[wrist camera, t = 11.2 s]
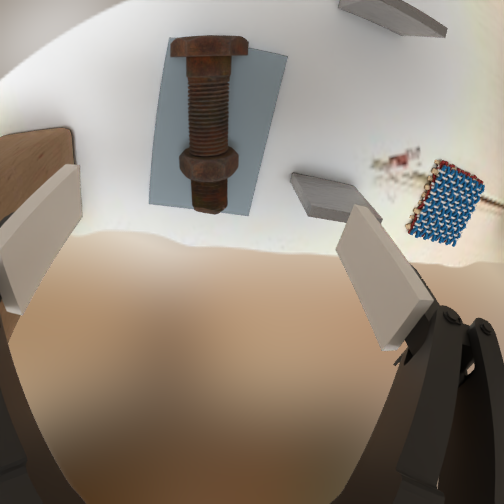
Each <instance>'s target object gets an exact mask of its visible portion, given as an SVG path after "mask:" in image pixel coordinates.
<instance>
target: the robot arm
mask: <svg viewBox="0 0 504 504" xmlns="http://www.w3.org/2000/svg"><path fill="white" fill-rule="evenodd" d="M81 218H82V205H81V188H80V165H74V164H65V165H64V166H63V167H62V168H61V169H59V170H58V171H57V172H56V173H55V174H54V175H53V176H52V177H50V178H49V179H48V180H47V181H46V182H45V183H44V184H43V185H42V186H41V187H40V188H39V189H37V190H36V191H35V192H34V193H33V194H32V195H31V196H30V197H29V198H28V199H27V200H26V201H25V202H24V203H23V204H22V205H21V206H20V207H19V208H18V209H17V210H16V211H15V212H12V213H11V214H9V215H7V216H6V217H4V218H3V219H2V220H1V221H0V302H1V300H2V301H3V303H4V306H5V308H6V310H7V312H11V313H15V314H18V315H23V314H24V312H25V310H26V308H27V306H28V304H29V303H30V301H31V299H32V297H33V295H34V293H35V291H36V290H37V287H38V286H39V284H40V282H41V281H42V279H43V277H44V276H45V274H46V272H47V270H48V269H49V267H50V265H51V264H52V262H53V261H54V259H55V257H56V255H57V254H58V252H59V251H60V249H61V248H62V246H63V245H64V243H65V242H66V240H67V238H68V237H69V236H70V234H71V233H72V231H73V230H74V228H75V227H76V225H77V224H78V222H79V221H80V220H81ZM336 251H337V253H338V255H339V258H340V260H341V262H342V263H343V266H344V268H345V270H346V272H347V274H348V276H349V278H350V280H351V282H352V285H353V287H354V289H355V291H356V293H357V295H358V297H359V299H360V302H361V304H362V306H363V309H364V311H365V313H366V315H367V317H368V320H369V322H370V324H371V327H372V329H373V331H374V333H375V336H376V338H377V340H378V343H379V345H380V348H381V350H382V351H390V350H397V349H398V348H399V347H400V345H401V344H402V343H403V342H404V340H405V341H406V343H407V345H408V347H407V349H406V350H405V351H404V352H403V353H402V354H401V356H400V357H399V358H398V359H397V360H396V361H395V363H394V365H395V366H396V365H397V364H398V363H399V362H400V364H399V367H398V370H397V373H396V376H395V379H394V381H393V384H392V387H391V389H390V392H389V395H388V397H387V400H386V402H385V405H384V407H383V410H382V412H381V415H380V417H379V419H378V422H377V424H376V426H375V428H374V431H373V433H372V435H371V437H370V440H369V442H368V444H367V446H366V448H365V450H364V452H363V454H362V456H361V458H360V460H359V462H358V464H357V466H356V468H355V469H354V471H353V473H352V475H351V477H350V479H349V481H348V483H347V484H346V486H345V488H344V489H343V491H342V492H341V494H340V495H339V496H338V497H337V498H336V499H335V500H333V501H332V502H331V503H330V504H504V363H503V359H502V355H501V351H500V348H499V345H498V341H497V337H496V334H495V331H494V329H493V328H492V326H491V324H490V323H488V321H485V320H484V319H482V318H476V319H475V321H474V322H473V323H472V324H471V325H470V326H469V325H466V324H463V323H462V320H461V318H460V316H459V315H458V314H457V313H456V312H455V311H454V310H453V309H451V308H449V307H447V306H443V305H442V306H440V305H439V303H438V302H437V300H436V298H435V297H434V295H433V294H432V293H431V291H430V289H429V288H428V286H426V283H425V282H424V281H423V279H421V276H420V274H419V273H418V272H417V270H416V269H415V268H414V267H413V266H412V265H411V264H410V263H409V262H408V261H407V259H406V258H405V256H404V255H403V254H402V252H401V251H400V249H399V248H398V247H397V245H396V244H395V243H394V241H393V240H392V239H391V237H390V236H389V235H388V233H387V232H386V231H385V229H384V228H383V227H382V225H381V224H380V223H379V221H378V220H377V219H376V218H375V216H374V215H373V214H372V213H371V211H370V210H369V209H368V208H367V207H365V206H360V205H356V204H354V206H353V209H352V211H351V214H350V216H349V218H348V221H347V223H346V226H345V228H344V231H343V233H342V235H341V238H340V240H339V242H338V245H337V247H336ZM473 363H474V364H475V368H474V370H473V371H472V372H471V373H470V374H469V375H468V374H467V369H468V368H469V367H470V366H471V365H472V364H473ZM438 478H439V482H438V489H437V486H436V485H437V481H438ZM0 504H86V503H85V502H84V501H83V499H82V498H81V497H80V496H79V494H78V493H77V492H76V491H75V490H74V489H73V488H72V487H71V486H70V484H69V483H68V481H67V480H66V478H65V477H64V475H63V473H62V472H61V470H60V468H59V466H58V465H57V463H56V461H55V459H54V457H53V456H52V454H51V452H50V450H49V448H48V446H47V444H46V442H45V440H44V438H43V436H42V434H41V432H40V430H39V428H38V425H37V423H36V421H35V419H34V416H33V414H32V412H31V410H30V407H29V405H28V402H27V400H26V397H25V394H24V392H23V389H22V386H21V384H20V381H19V378H18V375H17V373H16V369H15V366H14V363H13V360H12V357H11V353H10V350H9V346H8V342H7V339H6V335H5V331H4V327H3V323H2V318H1V314H0Z"/></svg>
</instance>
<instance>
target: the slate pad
mask: <svg viewBox="0 0 504 504" xmlns="http://www.w3.org/2000/svg"><path fill="white" fill-rule="evenodd" d="M175 39H176V38H169V42H168V47H167V53H166V58H165V63H164V69H163V75H162V81H161V88H160V94H159V101H158V108H157V116H156V124H155V133H154V142H153V153H152V164H151V177H150V192H149V204H153V205H162V206H171V207H180V208H188V209H194V207H193V206H192V192H191V180H190V179H188V178H187V177H185V175H184V174H183V173H182V172H181V170H180V168H179V156H180V155H181V153H182V152H183V151H184V150H185V149H187V148H189V146H190V145H189V142H190V141H189V138H190V137H189V134H190V133H189V132H188V131H189V129H188V127H189V125H188V123H189V121H188V119H189V117H188V115H189V114H188V111H189V110H188V107H189V105H188V103H189V101H188V99H189V97H188V95H189V93H188V90H190V89H188V86H190V85H188V84H187V83H188V78H187V76H186V57H170V44H171V43H172V42H173V40H175ZM287 58H288V56H284V55H280V54H276V53H271V52H267V51H262V50H257V49H252V48H248V56H232V61H231V75H230V81H229V82H227V83H229V84H230V85H229V86H227V87H229V90H227V91H229V94H228V95H229V98H228V99H229V102H227V103H228V104H229V106H227V107H228V108H229V109H228V112H229V114H228V116H229V118H228V120H229V122H228V124H229V125H228V128H229V129H228V130H227V131H228V134H227V135H228V138H227V139H228V146H230V147H232V148H233V149H234V150H235V151H236V152H237V153H238V155H239V166H238V168H237V170H236V171H235V173H234V174H233V175H232V176H231V177H229V178H228V179H227V180H228V182H227V183H228V185H227V187H228V189H227V191H228V192H227V194H228V195H227V198H228V199H227V200H228V205H227V207H226V208H225V209H224V210H223V211H221V213H229V214H237V215H244V216H249V212H250V207H251V203H252V199H253V195H254V191H255V187H256V182H257V178H258V174H259V170H260V166H261V162H262V158H263V154H264V149H265V145H266V141H267V137H268V133H269V129H270V125H271V121H272V117H273V113H274V109H275V105H276V101H277V97H278V93H279V89H280V85H281V81H282V77H283V73H284V69H285V65H286V62H287Z"/></svg>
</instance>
